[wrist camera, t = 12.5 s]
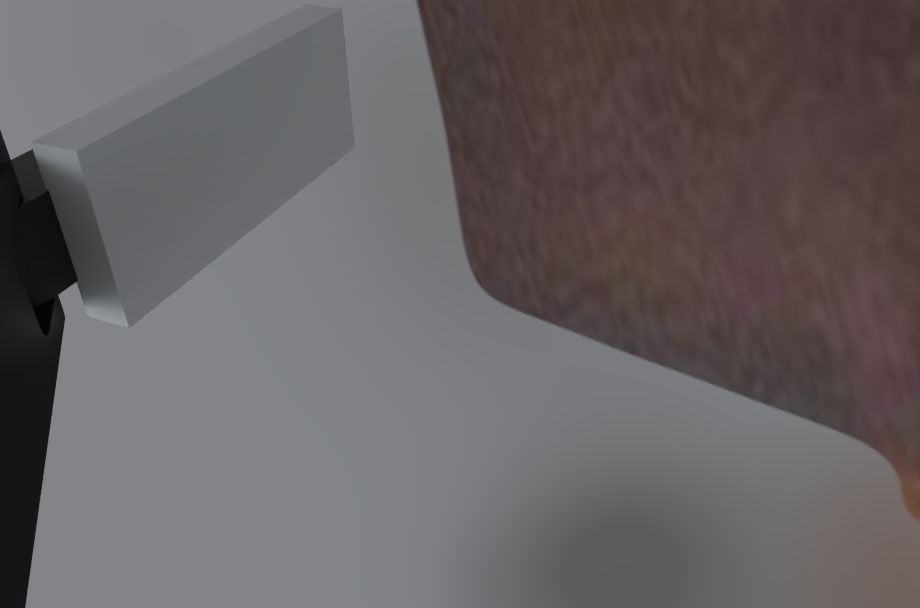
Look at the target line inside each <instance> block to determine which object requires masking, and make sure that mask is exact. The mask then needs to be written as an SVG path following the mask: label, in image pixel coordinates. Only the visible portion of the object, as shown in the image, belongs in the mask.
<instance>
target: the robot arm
mask: <svg viewBox="0 0 920 608" xmlns="http://www.w3.org/2000/svg"><path fill="white" fill-rule="evenodd" d="M30 143H31V146H32V150H30V151H28V152H26V153H24V154H22V155H20V156H18V157H16V158H14V159H12V160H10V157H9V154H8V151H7V148H6V145H5V142H4V140H3V137H2V134H1V131H0V608H25V605H26V597H27V589H28V582H29V576H30V569H31V561H32V554H33V547H34V540H35V532H36V525H37V518H38V510H39V503H40V496H41V489H42V482H43V474H44V467H45V460H46V453H47V445H48V438H49V430H50V424H51V416H52V409H53V402H54V395H55V387H56V380H57V373H58V366H59V358H60V350H61V344H62V337H63V329H64V322H65V315H64V312H63V308H62V305H61V302H60V299H59V296H58V294H60V293H61V292H62V291H64V290H65V289H67V288H68V287H70V286H71V285H73V284H74V283H75V282H77V284H78V287H79V290H80V293H81V296H82V299H83V303H84V306H85V309H86V311H87V315H88V316H89V317H92V318H95V319H99V320H102V321H106V322H110V323H113V324H116V325H120V326H123V327H127V328H130V327H131V326H132V325H134V324H135V323H136V322H137V321H139V320H140V319H141V318H142V317H144V316H145V315H146V314H147V313H149V312H150V311H151V310H152V309H154V308H155V307H156V306H157V305H158V304H160V303H161V302H162V301H163V300H165V299H166V298H167V297H169V296H170V295H171V294H172V293H173V292H175V291H176V290H177V289H179V288H180V287H181V286H182V285H184V284H185V283H186V282H187V281H188V280H190V279H191V278H192V277H194V276H195V275H196V274H197V273H199V272H200V271H201V270H202V269H203V268H205V267H206V266H207V265H209V264H210V263H211V262H212V261H213V260H215V259H216V258H217V257H218V256H220V255H221V254H222V253H223V252H224V251H226V250H227V249H228V248H230V247H231V246H232V245H233V244H235V243H236V242H237V241H238V240H240V239H241V238H242V237H243V236H245V235H246V234H247V233H248V232H250V231H251V230H252V229H253V228H255V227H256V226H257V225H258V224H260V223H261V222H262V221H263V220H264V219H266V218H267V217H268V216H270V215H271V214H272V213H273V212H274V211H276V210H277V209H278V208H280V207H281V206H282V205H283V204H285V203H286V202H287V201H288V200H290V198H292V197H293V196H294V195H296V194H297V193H298V192H299V191H300V190H302V189H303V188H304V187H306V186H307V185H308V184H309V183H311V182H312V181H313V180H314V179H316V178H317V177H318V176H319V175H321V174H322V173H323V172H324V171H326V170H327V169H328V168H329V167H331V166H332V165H333V164H334V163H335V162H337V161H338V160H339V159H341V158H342V157H343V156H344V155H346V154H347V153H348V152H349V151H351V150H352V149H353V148H354V147H355V145H354V135H353V124H352V113H351V103H350V92H349V81H348V71H347V60H346V49H345V38H344V28H343V17H342V9H340V8H331V7H322V6H313V5H304V6H302V7H300V8H298V9H296V10H294V11H292V12H290V13H288V14H286V15H285V16H283V17H280V18H278V19H276V20H274V21H272V22H270V23H268V24H266V25H264V26H262V27H260V28H258V29H256V30H254V31H252V32H250V33H248V34H246V35H244V36H243V37H240V38H238V39H236V40H234V41H232V42H230V43H228V44H226V45H224V46H222V47H220V48H219V49H216V50H214V51H212V52H210V53H208V54H206V55H204V56H202V57H200V58H198V59H196V60H194V61H192V62H190V63H188V64H186V65H184V66H182V67H180V68H178V69H176V70H174V71H172V72H170V73H168V74H166V75H164V76H162V77H160V78H158V79H156V80H154V81H152V82H150V83H148V84H146V85H144V86H142V87H140V88H138V89H136V90H134V91H132V92H130V93H128V94H126V95H124V96H122V97H120V98H118V99H116V100H114V101H112V102H110V103H108V104H106V105H104V106H102V107H100V108H98V109H96V110H94V111H92V112H90V113H88V114H86V115H84V116H82V117H80V118H78V119H76V120H74V121H72V122H70V123H68V124H66V125H64V126H62V127H60V128H58V129H56V130H54V131H52V132H50V133H48V134H46V135H44V136H42V137H40V138H38V139H36V140H34V141H32V142H30Z"/></svg>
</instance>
